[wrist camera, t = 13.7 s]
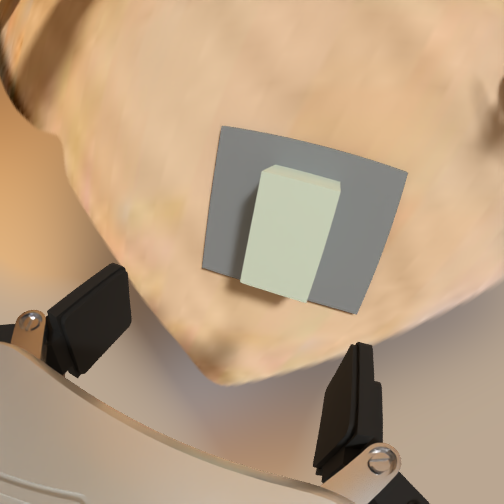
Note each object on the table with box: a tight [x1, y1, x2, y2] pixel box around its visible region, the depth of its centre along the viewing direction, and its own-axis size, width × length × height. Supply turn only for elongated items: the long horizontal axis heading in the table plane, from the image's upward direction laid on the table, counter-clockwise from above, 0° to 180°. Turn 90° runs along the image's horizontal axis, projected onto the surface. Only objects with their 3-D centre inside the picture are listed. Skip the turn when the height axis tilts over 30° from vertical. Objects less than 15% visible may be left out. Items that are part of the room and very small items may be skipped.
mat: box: [202, 126, 408, 314], centre depth 25 cm, size 16×14×1 cm
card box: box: [240, 165, 341, 303], centre depth 23 cm, size 9×6×4 cm, turn 169°
